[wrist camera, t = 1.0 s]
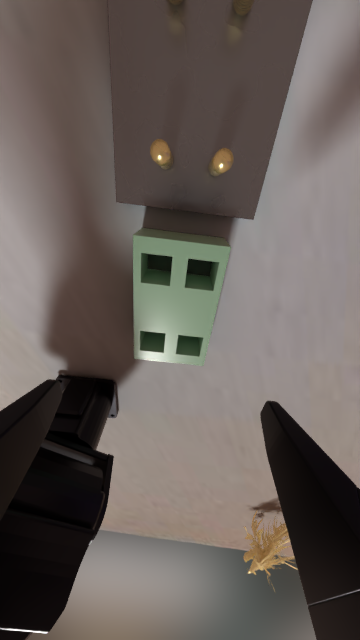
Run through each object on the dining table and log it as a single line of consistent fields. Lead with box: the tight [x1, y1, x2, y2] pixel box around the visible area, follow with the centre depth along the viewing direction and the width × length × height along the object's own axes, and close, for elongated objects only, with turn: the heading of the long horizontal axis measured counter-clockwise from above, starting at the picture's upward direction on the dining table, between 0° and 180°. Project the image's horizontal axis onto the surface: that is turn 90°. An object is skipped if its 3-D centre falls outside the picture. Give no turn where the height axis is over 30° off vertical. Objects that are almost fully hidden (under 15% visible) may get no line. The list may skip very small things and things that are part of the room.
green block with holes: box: [133, 228, 231, 366], centre depth 17 cm, size 10×6×3 cm, turn 174°
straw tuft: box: [243, 511, 298, 575], centre depth 40 cm, size 11×15×9 cm
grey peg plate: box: [108, 0, 313, 220], centre depth 10 cm, size 11×9×4 cm
